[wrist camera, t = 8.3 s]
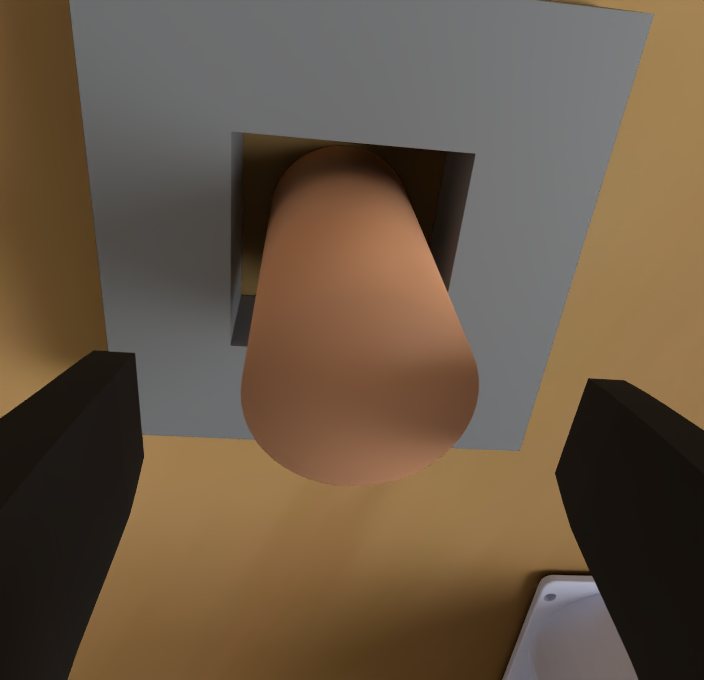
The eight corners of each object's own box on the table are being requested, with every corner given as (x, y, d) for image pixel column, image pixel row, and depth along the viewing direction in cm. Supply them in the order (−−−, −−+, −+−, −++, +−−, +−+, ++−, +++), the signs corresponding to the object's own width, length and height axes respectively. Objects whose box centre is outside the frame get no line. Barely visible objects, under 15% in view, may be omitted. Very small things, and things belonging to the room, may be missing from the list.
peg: (398, 282, 19) (455, 490, 12) (268, 273, 19) (239, 482, 11) (418, 152, 17) (502, 300, 10) (273, 139, 17) (241, 282, 9)
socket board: (495, 393, 22) (519, 451, 19) (141, 375, 21) (117, 433, 18) (598, 6, 16) (654, 14, 13) (106, -51, 15) (62, -55, 12)
